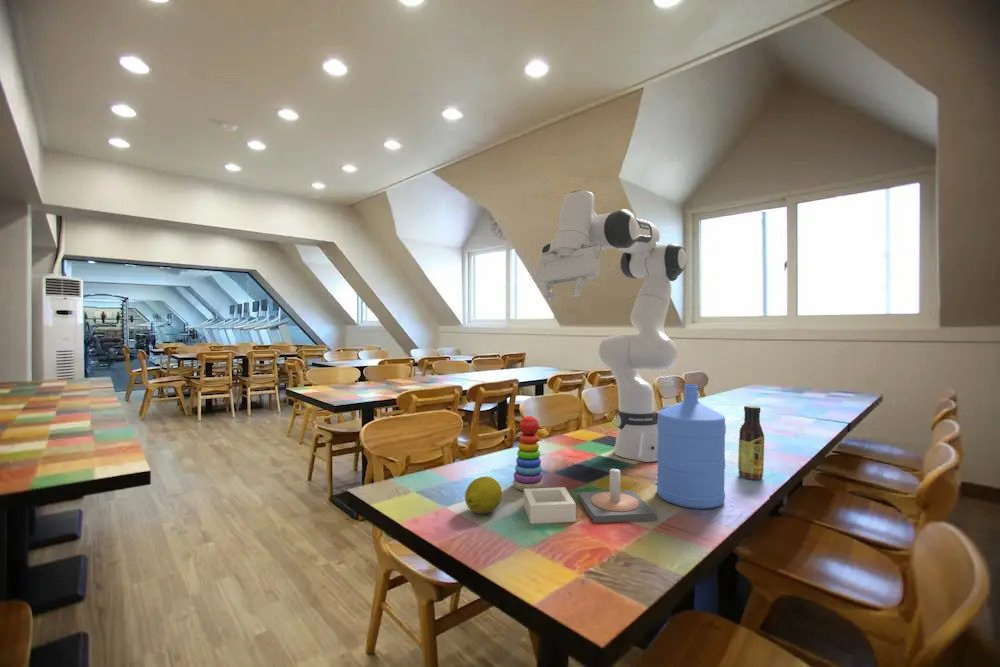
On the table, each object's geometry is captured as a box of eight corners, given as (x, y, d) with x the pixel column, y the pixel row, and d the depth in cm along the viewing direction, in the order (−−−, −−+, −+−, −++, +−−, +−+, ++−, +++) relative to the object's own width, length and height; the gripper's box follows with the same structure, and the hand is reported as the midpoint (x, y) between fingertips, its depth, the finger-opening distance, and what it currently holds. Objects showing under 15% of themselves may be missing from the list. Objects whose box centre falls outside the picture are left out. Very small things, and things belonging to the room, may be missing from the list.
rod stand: (632, 495, 117) (632, 460, 117) (656, 519, 103) (656, 479, 103) (577, 498, 116) (577, 462, 115) (594, 522, 102) (594, 482, 101)
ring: (564, 503, 112) (564, 487, 112) (575, 521, 102) (575, 503, 102) (523, 505, 111) (523, 488, 111) (530, 523, 101) (530, 505, 101)
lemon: (486, 501, 114) (486, 468, 114) (510, 509, 109) (510, 475, 108) (453, 515, 106) (453, 480, 105) (478, 525, 100) (478, 488, 100)
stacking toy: (541, 493, 119) (541, 420, 118) (510, 491, 120) (510, 419, 120) (544, 482, 126) (544, 414, 126) (515, 480, 128) (515, 413, 127)
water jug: (712, 516, 105) (713, 392, 104) (646, 498, 115) (646, 385, 115) (733, 496, 116) (735, 385, 115) (671, 481, 127) (672, 379, 126)
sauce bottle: (758, 482, 126) (759, 409, 126) (734, 476, 131) (735, 406, 130) (767, 477, 130) (768, 406, 130) (743, 471, 135) (744, 403, 135)
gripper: (609, 245, 117) (601, 297, 114) (551, 258, 133) (543, 304, 130) (593, 235, 113) (584, 289, 110) (536, 249, 129) (526, 297, 126)
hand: (561, 297), depth 120 cm, fingers open, 8 cm apart
